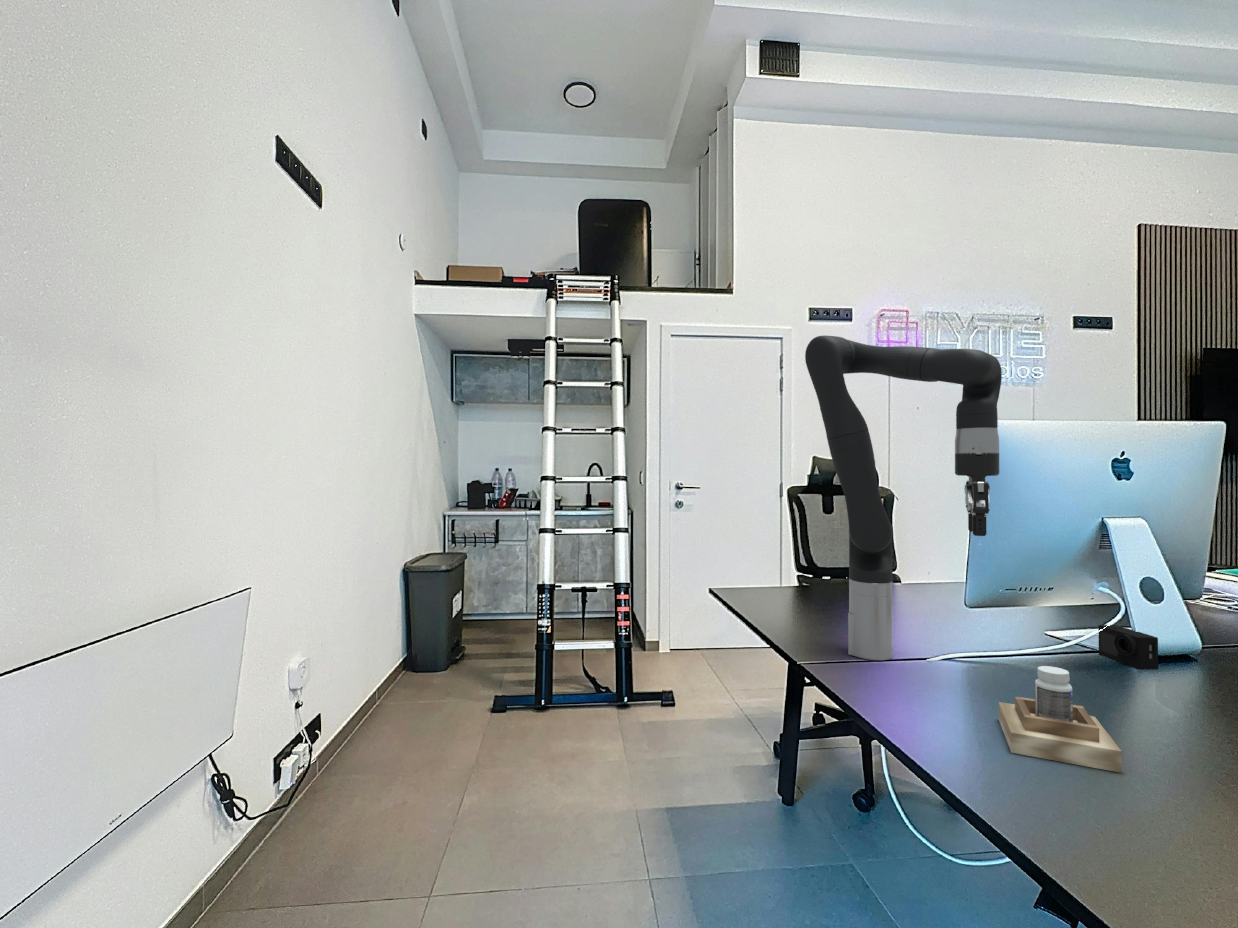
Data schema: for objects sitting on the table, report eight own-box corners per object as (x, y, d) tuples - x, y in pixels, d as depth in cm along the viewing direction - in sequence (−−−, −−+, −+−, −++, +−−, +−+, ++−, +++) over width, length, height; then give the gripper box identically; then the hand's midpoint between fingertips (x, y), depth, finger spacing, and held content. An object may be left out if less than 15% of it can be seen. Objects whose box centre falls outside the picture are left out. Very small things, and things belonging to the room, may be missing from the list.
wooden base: (1011, 752, 87) (1011, 719, 87) (998, 719, 99) (998, 690, 99) (1121, 772, 81) (1121, 736, 81) (1094, 735, 93) (1094, 703, 93)
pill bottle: (1079, 731, 87) (1079, 675, 88) (1044, 728, 88) (1044, 673, 88) (1062, 718, 92) (1062, 665, 92) (1029, 716, 93) (1028, 663, 93)
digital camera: (1092, 654, 135) (1092, 624, 135) (1115, 654, 135) (1115, 624, 135) (1133, 669, 125) (1133, 636, 125) (1158, 669, 125) (1157, 636, 125)
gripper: (952, 453, 123) (952, 529, 123) (957, 450, 110) (958, 536, 110) (994, 452, 120) (994, 531, 119) (1004, 450, 107) (1005, 538, 107)
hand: (977, 533), depth 115 cm, fingers open, 8 cm apart
